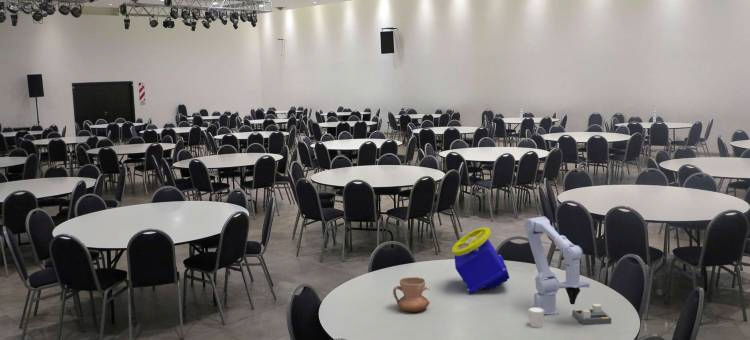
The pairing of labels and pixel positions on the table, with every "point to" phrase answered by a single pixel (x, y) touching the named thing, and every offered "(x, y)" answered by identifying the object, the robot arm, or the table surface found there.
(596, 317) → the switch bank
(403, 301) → the ceramic jug
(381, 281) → the table surface
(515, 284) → the table surface
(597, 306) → the white block
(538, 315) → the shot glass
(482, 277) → the blue valve with handwheel
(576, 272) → the robot arm
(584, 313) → the white rectangular block
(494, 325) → the table surface
